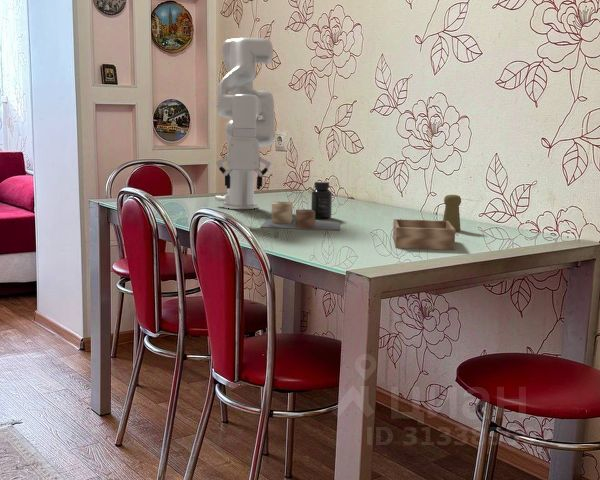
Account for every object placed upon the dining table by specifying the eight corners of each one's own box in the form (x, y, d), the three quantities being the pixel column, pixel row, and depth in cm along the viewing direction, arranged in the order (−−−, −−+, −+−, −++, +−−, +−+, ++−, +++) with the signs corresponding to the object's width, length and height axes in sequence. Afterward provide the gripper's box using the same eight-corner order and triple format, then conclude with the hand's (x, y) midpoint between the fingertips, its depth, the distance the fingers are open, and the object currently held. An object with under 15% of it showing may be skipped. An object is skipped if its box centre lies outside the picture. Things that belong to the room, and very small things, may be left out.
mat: (260, 227, 237) (260, 226, 237) (266, 220, 253) (266, 219, 253) (339, 230, 235) (339, 229, 235) (340, 222, 251) (340, 221, 251)
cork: (461, 229, 243) (464, 194, 241) (459, 232, 237) (461, 196, 235) (442, 228, 245) (444, 193, 243) (439, 230, 239) (441, 195, 237)
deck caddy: (395, 247, 209) (396, 227, 208) (392, 237, 224) (393, 219, 223) (454, 249, 208) (455, 229, 207) (447, 239, 223) (448, 220, 222)
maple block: (271, 222, 245) (271, 203, 244) (273, 219, 251) (273, 201, 250) (290, 223, 245) (290, 204, 244) (292, 220, 251) (292, 202, 250)
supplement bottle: (334, 217, 262) (335, 182, 260) (326, 220, 256) (327, 183, 254) (315, 215, 265) (316, 180, 263) (307, 218, 259) (308, 182, 257)
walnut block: (298, 228, 236) (299, 211, 235) (295, 225, 241) (296, 209, 240) (314, 228, 237) (315, 211, 236) (311, 225, 242) (311, 209, 241)
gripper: (214, 133, 241) (214, 188, 243) (270, 134, 240) (269, 190, 242) (218, 133, 248) (218, 187, 251) (272, 134, 247) (271, 188, 250)
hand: (243, 188), depth 247 cm, fingers open, 9 cm apart
